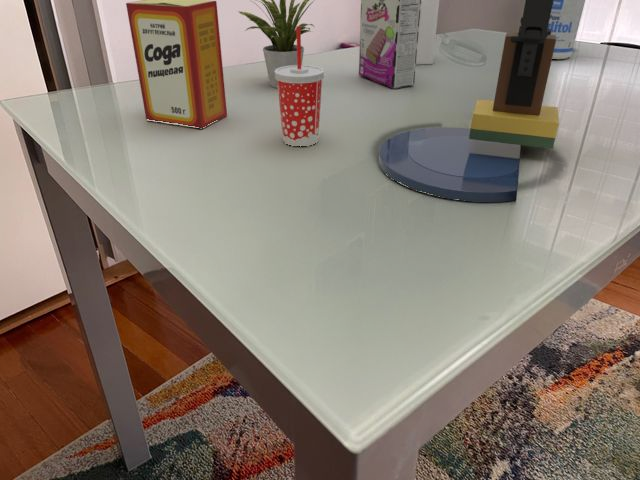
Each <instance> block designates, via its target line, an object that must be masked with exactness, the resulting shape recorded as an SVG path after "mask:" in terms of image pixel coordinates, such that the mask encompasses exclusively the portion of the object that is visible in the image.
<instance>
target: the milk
mask: <svg viewBox="0 0 640 480" xmlns="http://www.w3.org/2000/svg"><path fill="white" fill-rule="evenodd" d="M439 8H440V0H421V9H420V21H419V34H418V45H417V56H416V66H418V65H419V66H420V65H433V64H434V56H435V45H436V38H437V37H436V36H437V27H438V17H439Z"/></svg>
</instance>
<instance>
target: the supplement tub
mask: <svg viewBox="0 0 640 480" xmlns="http://www.w3.org/2000/svg"><path fill="white" fill-rule="evenodd" d="M585 3H586V0H554V1H553V6H552V10H551V15H550V19H549V24H548V29H551V35H556V43H555V48H554V52H553V57H552V59H557V60H565V59H568V57H569V58H570V57H571V56H572V54H573V50H574V47H575V43H576V39H577V35H578V31H579V28H580V27H579V26H580V23H581V19H582V15H583V11H584V7H585Z"/></svg>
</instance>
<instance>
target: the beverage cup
mask: <svg viewBox="0 0 640 480" xmlns="http://www.w3.org/2000/svg"><path fill="white" fill-rule="evenodd" d="M295 29H297V39H296V45H297V65H291V66H284V67H280V68H277V69H276V70H275V71H274V74H275V79H276V80H277V85H278V88H277V93H278V95H277V96H278V104H279V113H280V124H281V133H282V142H283V141H284V142H285V143H284V142H283V143H284V145H286V144H288V145H287V146H289V145H291V146H290V147H293V146H300V147H299V148H302V147H301V146H307V147H311V146H310V145H312V146H314V145H313V144H315V143H316V144H318V143H319V135H320V119H321V103H322V101H321V100H322V88H323V87H322V85H323V84H322V83H323V79H324V78H325V69H323V68H322V67H321V66H320V67H319V66H316V65H309V64H302V65H301V46H302V38H301V37H302V34H301V28H300V26H299V25H297V26H296V28H295ZM317 142H318V143H317ZM316 144H315V145H316Z"/></svg>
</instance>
